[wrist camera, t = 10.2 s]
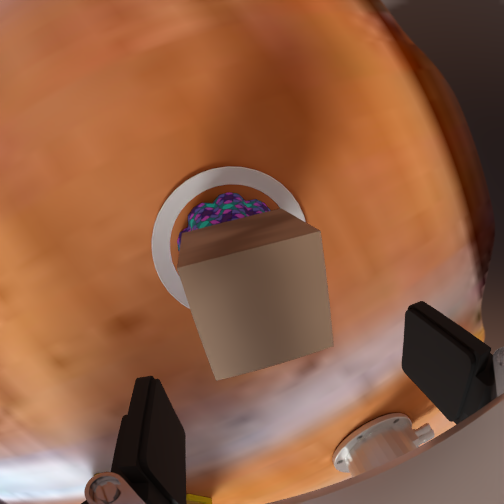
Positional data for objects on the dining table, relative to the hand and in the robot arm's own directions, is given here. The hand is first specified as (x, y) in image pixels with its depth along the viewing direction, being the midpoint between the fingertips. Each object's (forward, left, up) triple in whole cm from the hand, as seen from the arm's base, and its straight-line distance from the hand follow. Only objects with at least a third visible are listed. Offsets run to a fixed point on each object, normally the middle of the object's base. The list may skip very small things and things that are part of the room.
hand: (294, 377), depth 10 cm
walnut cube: (0, -1, -10) cm, 10 cm away
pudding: (0, -1, -15) cm, 15 cm away
